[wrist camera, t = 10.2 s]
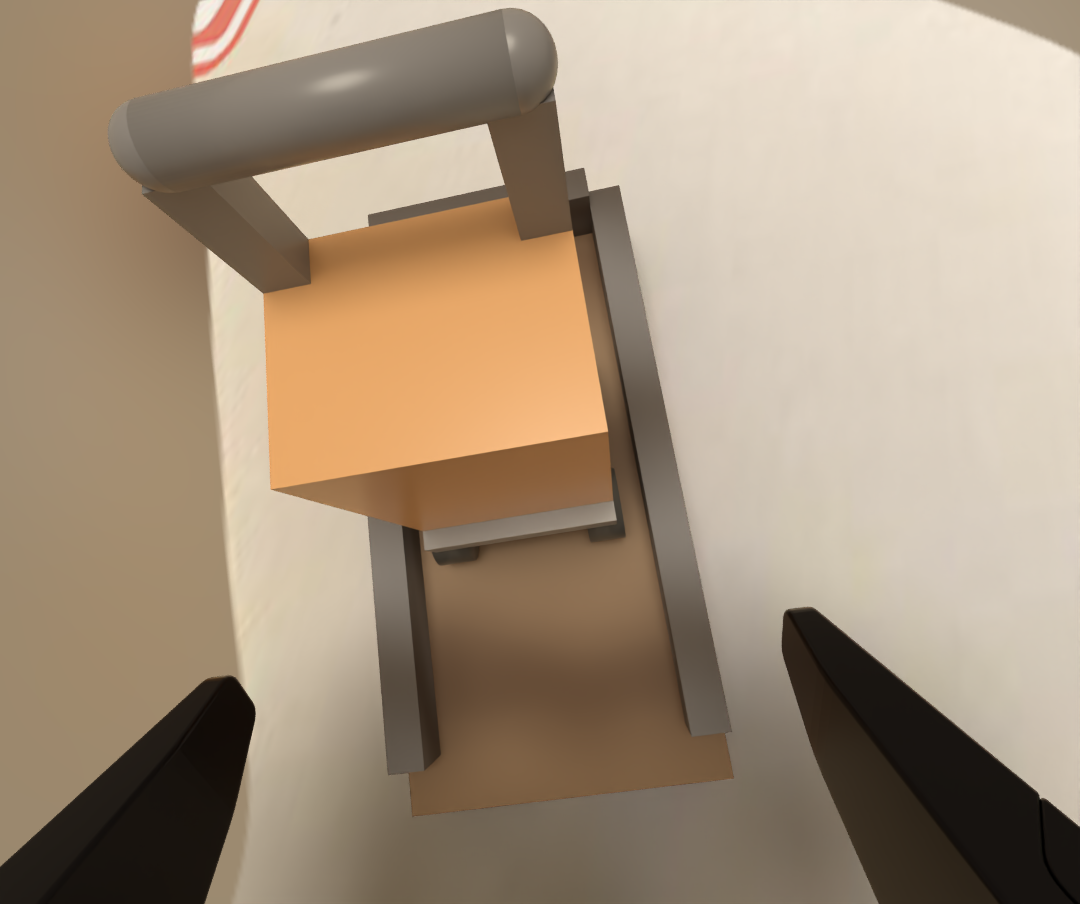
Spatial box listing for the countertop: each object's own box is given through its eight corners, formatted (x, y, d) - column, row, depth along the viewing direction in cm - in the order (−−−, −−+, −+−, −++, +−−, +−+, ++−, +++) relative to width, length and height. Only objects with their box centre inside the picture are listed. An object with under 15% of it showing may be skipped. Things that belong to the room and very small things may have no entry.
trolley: (625, 539, 18) (641, 422, 5) (450, 566, 18) (55, 523, 5) (594, 365, 19) (544, -81, 6) (432, 395, 20) (80, 37, 7)
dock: (721, 757, 18) (749, 805, 14) (433, 793, 19) (385, 846, 15) (616, 234, 22) (616, 160, 18) (385, 282, 23) (338, 221, 19)
